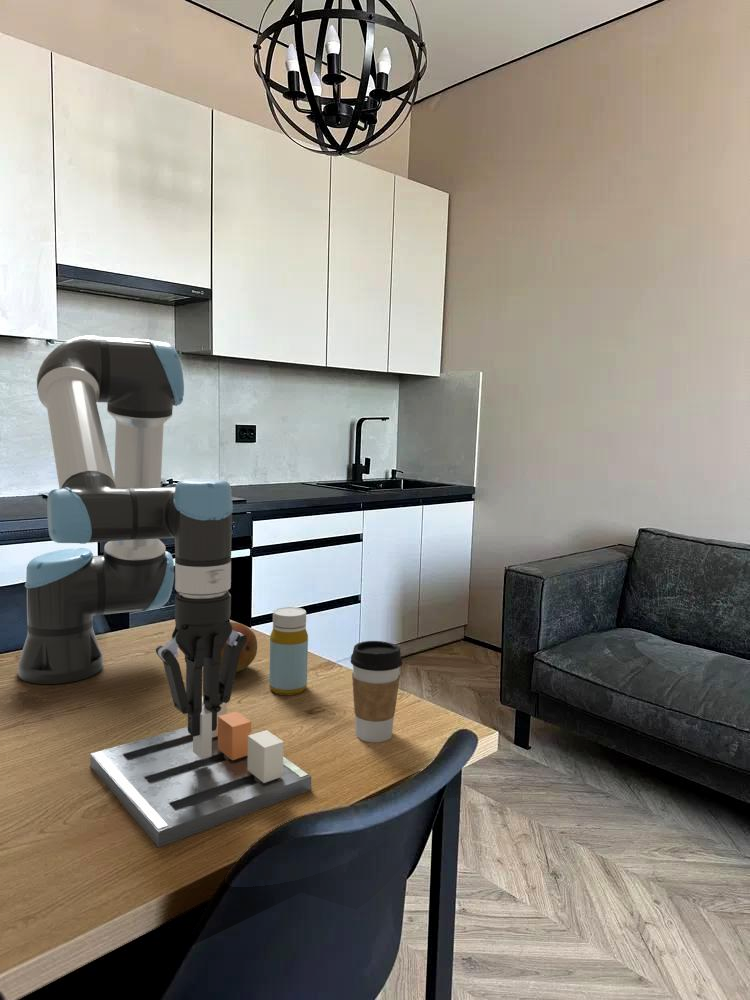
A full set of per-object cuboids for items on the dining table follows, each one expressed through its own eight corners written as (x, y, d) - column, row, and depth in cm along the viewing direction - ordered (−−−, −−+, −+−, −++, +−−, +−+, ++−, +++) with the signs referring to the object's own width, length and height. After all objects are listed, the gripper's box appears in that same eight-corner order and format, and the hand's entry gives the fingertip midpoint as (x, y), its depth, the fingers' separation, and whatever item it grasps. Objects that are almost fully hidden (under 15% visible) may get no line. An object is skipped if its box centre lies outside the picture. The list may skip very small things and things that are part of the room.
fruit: (228, 687, 134) (228, 635, 132) (181, 672, 140) (181, 623, 139) (269, 669, 143) (269, 621, 142) (223, 656, 150) (223, 610, 149)
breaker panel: (90, 766, 103) (90, 752, 102) (227, 727, 117) (227, 715, 116) (158, 847, 84) (158, 831, 84) (311, 789, 99) (311, 775, 98)
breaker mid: (217, 754, 105) (217, 716, 104) (235, 749, 107) (236, 711, 106) (232, 766, 101) (232, 727, 101) (250, 760, 103) (251, 721, 103)
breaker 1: (195, 734, 111) (195, 697, 110) (213, 729, 113) (213, 693, 112) (208, 744, 108) (208, 707, 107) (226, 739, 110) (226, 702, 109)
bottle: (262, 692, 132) (263, 613, 130) (281, 679, 138) (282, 604, 136) (295, 698, 129) (297, 618, 127) (313, 685, 136) (315, 609, 134)
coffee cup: (362, 750, 110) (365, 657, 109) (339, 728, 118) (342, 640, 116) (408, 740, 114) (412, 650, 112) (384, 719, 122) (387, 635, 120)
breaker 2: (247, 776, 99) (247, 735, 98) (265, 769, 101) (266, 729, 100) (263, 789, 96) (264, 747, 95) (282, 782, 97) (283, 741, 97)
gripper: (169, 605, 91) (170, 779, 94) (258, 591, 99) (256, 751, 102) (146, 592, 96) (146, 757, 99) (231, 580, 105) (230, 732, 108)
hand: (202, 754), depth 101 cm, fingers closed
